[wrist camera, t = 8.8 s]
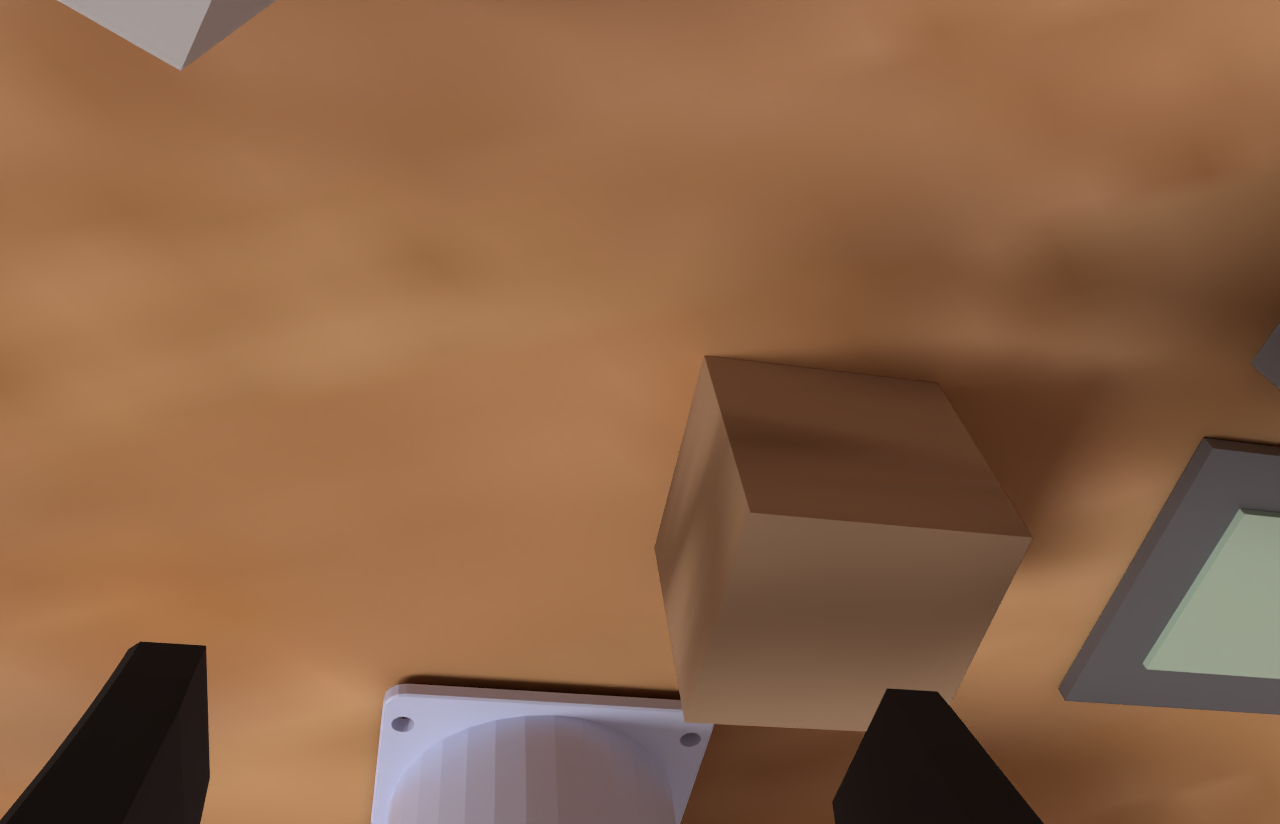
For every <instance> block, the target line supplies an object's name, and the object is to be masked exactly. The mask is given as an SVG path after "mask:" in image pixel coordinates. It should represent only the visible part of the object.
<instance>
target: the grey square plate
mask: <svg viewBox="0 0 1280 824" xmlns="http://www.w3.org/2000/svg"><path fill="white" fill-rule="evenodd" d="M1059 691H1060V693H1061V695H1062V696H1063V698H1064V700H1065V701H1077V702H1092V703H1108V704H1123V705H1139V706H1154V707H1169V708H1185V709H1200V710H1216V711H1231V712H1246V713H1262V714H1277V715H1280V447H1276V446H1268V445H1259V444H1251V443H1243V442H1234V441H1226V440H1218V439H1209V438H1203V440H1202V441H1201V443H1200V445H1199V447H1198V448H1197V450H1196V452H1195V453H1194V455H1193V457H1192V459H1191V460H1190V462H1189V464H1188V466H1187V467H1186V469H1185V471H1184V473H1183V474H1182V476H1181V478H1180V479H1179V481H1178V483H1177V485H1176V486H1175V488H1174V490H1173V492H1172V493H1171V495H1170V497H1169V498H1168V500H1167V502H1166V504H1165V505H1164V507H1163V509H1162V511H1161V512H1160V514H1159V516H1158V517H1157V519H1156V521H1155V523H1154V524H1153V526H1152V528H1151V530H1150V531H1149V533H1148V535H1147V536H1146V538H1145V540H1144V542H1143V543H1142V545H1141V547H1140V549H1139V550H1138V552H1137V554H1136V555H1135V557H1134V559H1133V561H1132V562H1131V564H1130V566H1129V568H1128V569H1127V571H1126V573H1125V574H1124V576H1123V578H1122V580H1121V581H1120V583H1119V585H1118V587H1117V588H1116V590H1115V592H1114V593H1113V595H1112V597H1111V599H1110V600H1109V602H1108V604H1107V606H1106V607H1105V609H1104V611H1103V612H1102V614H1101V616H1100V618H1099V619H1098V621H1097V623H1096V625H1095V626H1094V628H1093V630H1092V631H1091V633H1090V635H1089V637H1088V638H1087V640H1086V642H1085V644H1084V645H1083V647H1082V649H1081V650H1080V652H1079V654H1078V656H1077V657H1076V659H1075V661H1074V663H1073V664H1072V666H1071V668H1070V669H1069V671H1068V673H1067V675H1066V676H1065V678H1064V680H1063V682H1062V683H1061V685H1060V687H1059Z"/></svg>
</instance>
